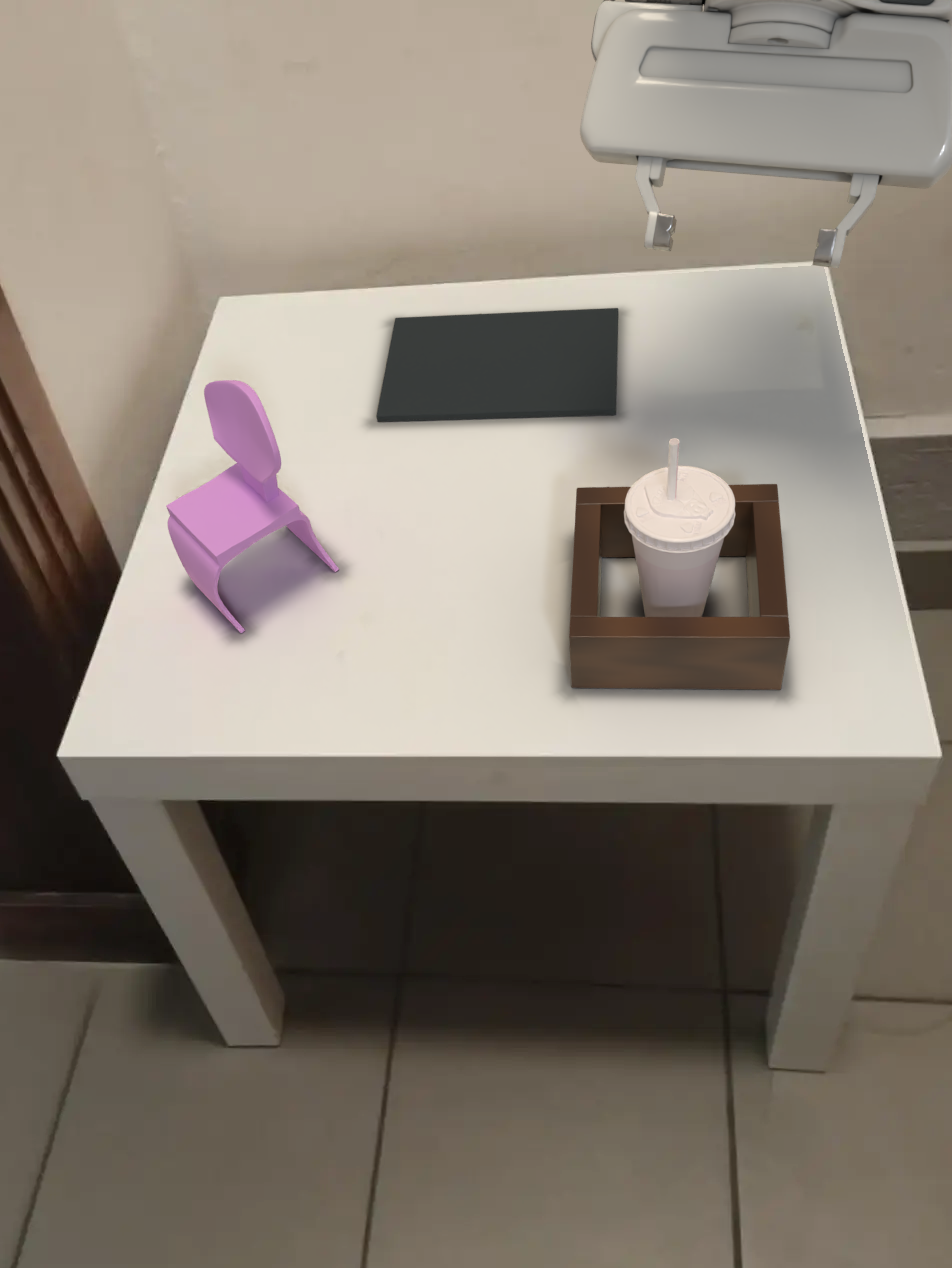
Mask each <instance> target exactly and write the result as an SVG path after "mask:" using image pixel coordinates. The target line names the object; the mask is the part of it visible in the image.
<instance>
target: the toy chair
mask: <svg viewBox="0 0 952 1268" xmlns="http://www.w3.org/2000/svg"><path fill="white" fill-rule="evenodd" d="M203 395H204V402H205V406H206V411H207V414H208V418H209V422H210V426H211V430H212V435H213V439H214V441H215V442H216V443H217V444H218V445H219V447H221V449H222V450H223V451H224V452H225V453H226V454H227V455H228V456H229V457H230V458H231V459H232V460H233V461H234V462H235V463H234V464H232V465H231V466H229V467H228V468H226V469H225V470H224V471H222V472H221V473H219V474H218V475H216V476H215V477H213V478H212V479H210V480H209V481H207V482H205V483H204V484H202V485H199V487H197V488H195V489H192V490H190V491H189V492H187V493H185V494H183V495H182V496H179V497H178V498H177V499H175V500H173V501H171V502H170V503H168V504H166V506H165V507H166V509H167V512H168V514H169V517H168V519H167V530H168V534H169V536H170V540H171V542H172V545H173V547H174V550H175V552H176V555H177V556H178V559H179V561H180V562H181V565H182V567H183V568H184V570H185V572H186V574H187V575H188V577H189V578H190V580H191V581H192V583H193V584H194V586H196V587H197V588H198V589H199V591H200V592H201V593H202V594H203V595H204V597H206V598H207V599H208V600H209V601H210V602H211V603H212V605H214V606H215V608H216V609H217V610H219V612H220V613H221V614H222V615H223V617H225V619H227V620H228V621H229V622H230V624H231V625H232V626H233V627H234V628H235V630H237V631H238V632H239V634H240V633H241V634H242V633H244V632H245V631H246V630H245V628H244V627H243V626H242V624H240V622H238V620H237V619H236V618H235V617H234V616H233V614H232V613H231V611H229V610H228V608H227V607H226V605H225V604H224V602H223V601H222V599H221V597H220V595H219V589H218V586H219V585H218V584H219V579H220V577H221V573H222V570H223V569H224V568H225V566H227V564H228V563H230V562H231V561H232V560H234V559H235V558H236V557H238V556H239V555H241V554H242V553H243V552H244V551H245V550H248V548H250V547H252V546H253V545H254V544H256V543H257V542H259V541H260V540H262V539H263V538H265V537H267V536H269V535H271V534H272V533H274V532H276V531H277V530H280V529H282V528H284V527H287V529H289V531H291V533H293V534H294V535H295V536H296V537H297V538H298V539H299V540H300V541H301V542H302V543H303V544H304V545H305V546H306V547H308V548H309V549H310V550H311V551H312V552H313V553H314V554H315V555H316V556H317V557H318V558H319V559H320V560H321V561H322V562H323V563H325V565H327V567H329V569H331V570H332V571H333V572H334V573H336V572H338V571H339V570H340V569H339V567H338V565H337V564H336V563H335V562H334V560H333V559H332V557H330V555H329V554H328V552H327V551H326V550H325V548H324V547H323V546H322V544H321V543H320V541H319V540H318V538H317V536H316V535H315V533H314V531H313V527H312V523H311V520H310V519H309V517H308V516H307V515H306V514H305V513H304V512H303V511H302V510H301V509H300V506H299V504H297V502H295V500H293V499H292V498H291V497H290V496H289V495H288V494H286V493H285V492H284V491H283V490H282V489H280V488H279V485H278V479H277V478H278V477H277V474H278V473H279V472H280V470H281V469H282V456H281V453H280V449H279V445H278V442H277V439H276V435H275V433H274V430H273V427H272V424H271V421H270V419H269V417H268V415H267V412H266V410H265V408H264V407H265V406H264V405H263V403H262V401H261V399H260V397H259V395H258V394H257V392H256V391H255V390H254V388H252V386H250V385H249V384H247V383H246V382H244V381H241V380H237V379H236V380H235V379H221V380H214V381H211V382H208V383H207V384H206V385H205V387H204V389H203Z"/></svg>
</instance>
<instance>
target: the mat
mask: <svg viewBox="0 0 952 1268" xmlns="http://www.w3.org/2000/svg"><path fill="white" fill-rule="evenodd" d="M618 343H619V308H618V307H607V308H585V309H563V310H562V309H561V310H542V311H541V310H540V311H539V310H537V311H517V312H515V311H513V312H496V313H495V312H493V313H471V314H449V315H428V316H427V315H426V316H406V317H405V316H404V317H394V321H393V327H392V333H391V338H390V343H389V348H388V354H387V358H386V364H385V369H384V375H383V380H382V385H381V390H380V393H379V394H380V395H379V400H378V405H377V411H376V416H375V417H376V421H377V422H378V423H379V422H413V421H414V422H415V421H445V420H452V421H453V420H478V419H479V420H483V419H485V420H486V419H515V418H516V419H517V418H550V417H553V418H555V417H583V416H585V417H586V416H615V415H616V414H617V384H618V383H617V381H618V348H619V347H618V346H619V345H618Z"/></svg>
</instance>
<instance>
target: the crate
mask: <svg viewBox="0 0 952 1268" xmlns="http://www.w3.org/2000/svg"><path fill="white" fill-rule="evenodd" d="M728 485H729V487H730V488H731V490H732V492H733V494H734V498H735V519H734V524H733V526H732V528H731V529H730V531H729V533H728V534H727V535H726V536H725V537H724V540H723V544H722V547H721V550H720V554H719V557H745V563H746V580H747V581H746V582H747V583H746V584H747V598H748V614H749V616H702V617H645V616H600V615H601V588H602V585H601V584H602V558H636V557H635V551H634V545H633V540H632V534H631V533H630V532H629V530H628V528H627V526H626V524H625V519H624V510H625V499H626V496H627V493H628V491H629V489H630V488H631V486H587V487H586V486H585V487H576V490H575V491H576V494H575V511H574V530H573V531H574V532H573V550H572V551H573V553H572V567H571V568H572V570H571V571H572V572H571V590H570V607H569V608H570V611H569V629H568V630H569V631H568V645H569V646H568V647H569V665H570V685H571V688H572V689H650V690H651V689H655V690H656V689H657V690H658V689H660V690H664V689H665V690H667V689H668V690H669V689H671V690H672V689H673V690H757V691H758V690H765V691H766V690H769V691H771V690H772V691H773V690H775V691H776V690H777V691H779V690H781V689H782V687H783V686H782V685H783V680H784V674H785V669H786V662H787V657H788V652H789V646H790V641H791V631H790V621H789V619H790V618H789V608H788V607H789V606H788V595H787V584H786V583H787V582H786V571H785V560H784V559H785V558H784V547H783V535H782V533H783V532H782V523H781V512H780V511H781V510H780V499H779V498H780V497H779V485H778V483H749V484H748V483H747V484H746V483H745V484H744V483H743V484H728Z"/></svg>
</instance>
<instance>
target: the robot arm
mask: <svg viewBox="0 0 952 1268" xmlns="http://www.w3.org/2000/svg"><path fill="white" fill-rule="evenodd" d="M592 27H593V28H592V34H591V39H590V40H591V41H590V50H591V54H592V58H593V60H594V62H595V63H594V67H593V70H592V74H591V77H590V81H589V84H588V89H587V91H586V92H587V93H586V96H585V100H584V105H583V109H582V115H581V120H580V127H579V135H580V140H581V142H582V144H583V146H584V148H585V150H586V152H587V153H588V154H589V155H590V156H591V158H592V159H593V160H594V161H595V162H598V163H605V164H614V165H615V164H617V165H628V166H636V170H635V176H634V180H635V182H636V185H637V188H638V191H639V193H640V196H641V197H640V198H641V199H642V201H643V205H644V208H645V210H646V213H647V215H648V216H647V223H646V228H645V234H644V244H643V247H644V248H645V250H649V251H650V250H652V251H661V252H672V249H673V244H674V239H673V237H672V236H673V235H674V234H675V232H676V226H677V218H676V215H675V214H671V213H670V214H668V213H662V211H661V209H660V205H659V203H658V200H657V198H656V194H655V191H654V189H653V187H654V188H662V187H663V185H664V180H665V174H666V169H675V170H689V171H702V172H713V173H725V174H738V175H750V176H762V177H763V176H764V177H775V178H776V177H777V178H787V179H798V180H799V179H800V180H811V181H812V180H813V181H823V182H835V183H847V184H848V183H849V189H848V194H847V198H846V199H847V200H846V202H847V203H848V204H851V205H852V207H850V209H849V210H848V212H847V213H846V214H845V215H844V216H843V218H842V219H841V221H840V222H838V224H837V225H836V227H835V228H821V227H819V230H818V236H817V240H816V245H815V246H816V248H815V250H814V255H813V260H812V266H816V267H823V268H824V267H825V268H832V269H833V268H834V269H839V268H840V265H841V261H842V257H843V253H844V246H845V242H846V238H847V237H848V236H849V235H850V233H852V231H853V230H854V228H855V227H856V226H857V225H858V224H859V223H860V221H861V220H862V219H863V218H864V216H866V214H867V213H868V211H869V210H870V209H871V208H872V206H873V204H874V201H875V199H876V194H877V189H878V186H885V187H897V188H898V187H899V188H907V189H908V188H909V189H920V190H921V189H922V190H925V189H926V190H927V189H929V188H931V187H933V186H934V185H936V184H937V183H938V182H939V181H940V180H942V179H943V178H944V177H945V176H946V175H947V174H948V172H949V171H950V170H951V168H952V0H624V1H621V0H620V1H619V0H603V1H602V2H601V3H600V4H599V6H598V8H597V10H596V13H595V17H594V22H593V26H592Z"/></svg>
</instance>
